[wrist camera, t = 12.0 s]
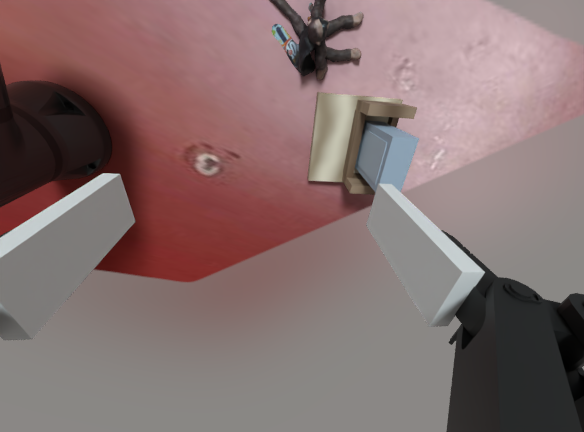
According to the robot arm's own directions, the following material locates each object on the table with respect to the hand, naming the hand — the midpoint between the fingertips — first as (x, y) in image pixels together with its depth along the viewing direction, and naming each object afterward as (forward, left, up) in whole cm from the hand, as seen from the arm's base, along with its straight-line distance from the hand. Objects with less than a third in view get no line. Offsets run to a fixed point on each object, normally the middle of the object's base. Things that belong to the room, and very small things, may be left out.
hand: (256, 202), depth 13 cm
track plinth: (+14, -4, -32) cm, 36 cm away
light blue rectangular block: (+17, -4, -31) cm, 36 cm away
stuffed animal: (+6, +11, -33) cm, 35 cm away
